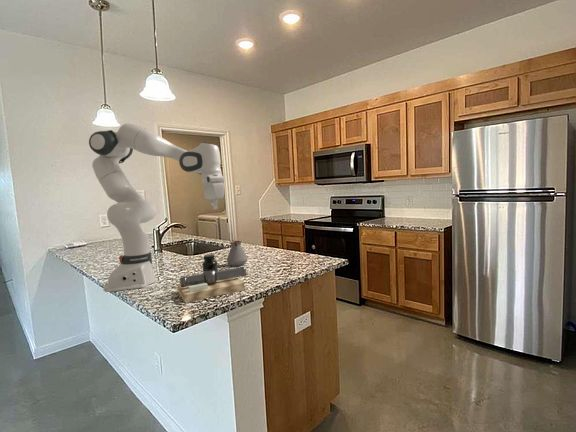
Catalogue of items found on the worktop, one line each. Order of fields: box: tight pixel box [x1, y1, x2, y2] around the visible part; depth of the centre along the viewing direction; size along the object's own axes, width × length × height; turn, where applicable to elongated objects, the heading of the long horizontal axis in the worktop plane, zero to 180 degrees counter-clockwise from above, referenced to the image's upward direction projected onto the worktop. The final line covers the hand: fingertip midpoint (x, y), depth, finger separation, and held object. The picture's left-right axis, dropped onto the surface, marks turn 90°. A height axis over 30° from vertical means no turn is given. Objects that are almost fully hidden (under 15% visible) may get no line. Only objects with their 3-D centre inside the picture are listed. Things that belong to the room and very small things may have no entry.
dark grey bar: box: [179, 266, 247, 287], centre depth 136 cm, size 28×5×5 cm, turn 116°
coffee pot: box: [226, 240, 249, 267], centre depth 175 cm, size 21×12×15 cm, turn 9°
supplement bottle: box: [201, 254, 219, 273], centre depth 150 cm, size 7×7×12 cm
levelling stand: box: [177, 277, 246, 303], centre depth 135 cm, size 24×16×5 cm, turn 118°
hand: (214, 209), depth 149 cm, fingers closed
